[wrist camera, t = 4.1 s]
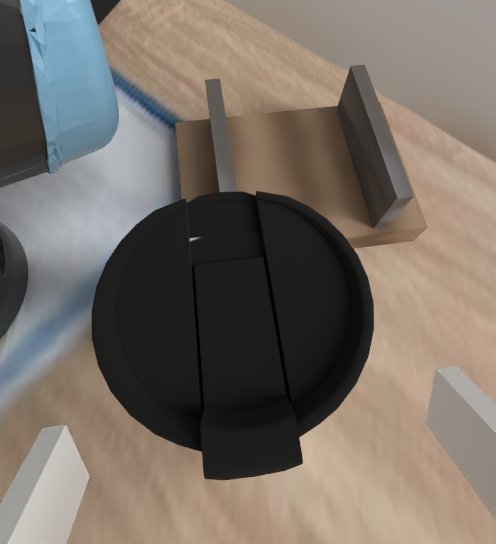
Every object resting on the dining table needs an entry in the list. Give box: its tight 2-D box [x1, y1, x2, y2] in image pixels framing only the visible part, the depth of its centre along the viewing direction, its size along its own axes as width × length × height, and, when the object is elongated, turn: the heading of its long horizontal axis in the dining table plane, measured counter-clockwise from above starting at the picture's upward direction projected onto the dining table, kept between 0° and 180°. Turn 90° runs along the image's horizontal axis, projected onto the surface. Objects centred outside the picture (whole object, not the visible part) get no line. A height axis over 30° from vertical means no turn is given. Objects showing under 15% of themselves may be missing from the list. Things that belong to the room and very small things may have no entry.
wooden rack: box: [175, 65, 428, 248], centre depth 28 cm, size 20×14×7 cm
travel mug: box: [92, 191, 374, 480], centre depth 16 cm, size 6×7×20 cm
